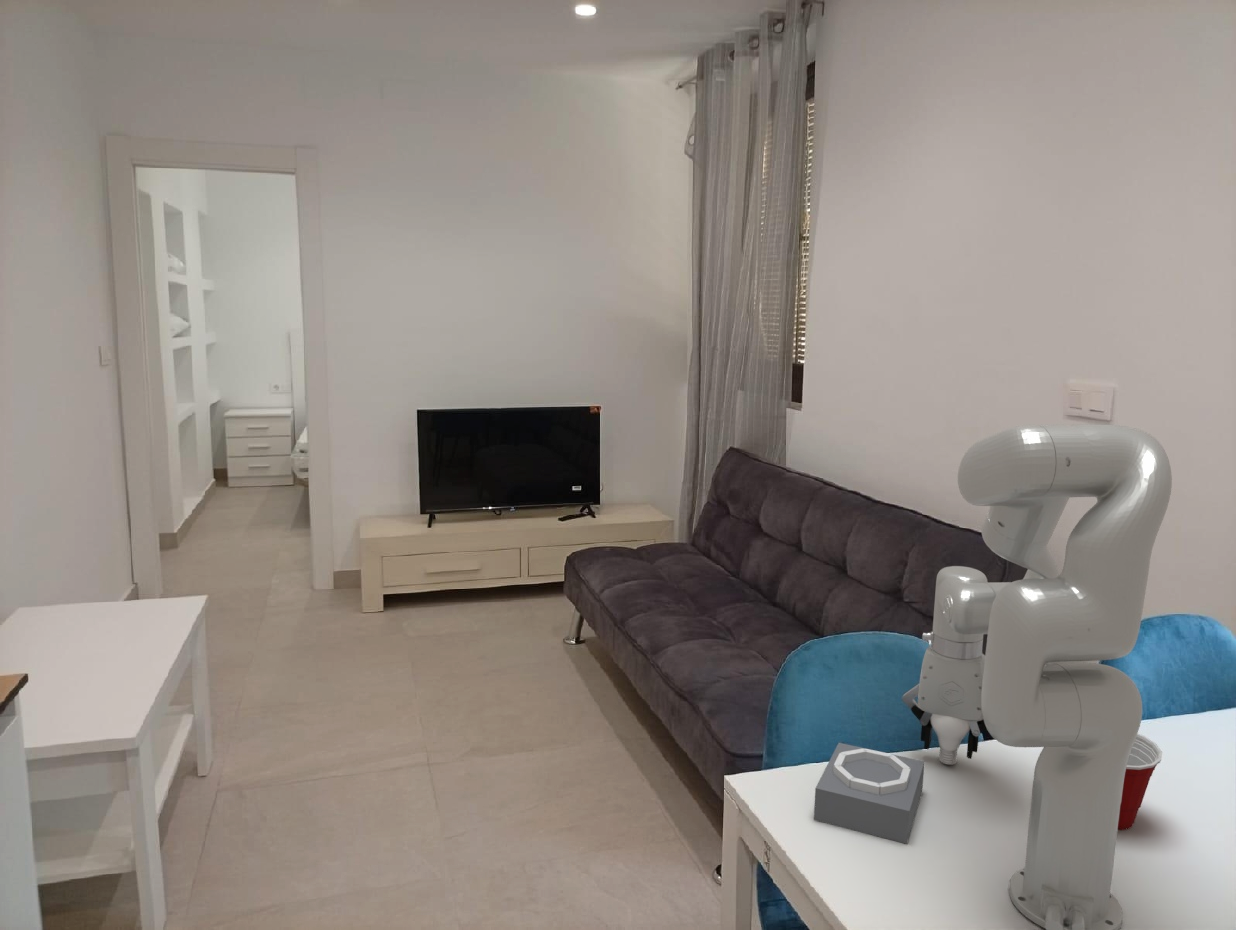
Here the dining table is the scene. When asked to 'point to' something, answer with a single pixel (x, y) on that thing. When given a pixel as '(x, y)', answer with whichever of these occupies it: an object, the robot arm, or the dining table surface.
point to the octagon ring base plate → (870, 792)
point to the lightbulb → (949, 736)
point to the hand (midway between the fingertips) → (948, 749)
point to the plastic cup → (1137, 778)
